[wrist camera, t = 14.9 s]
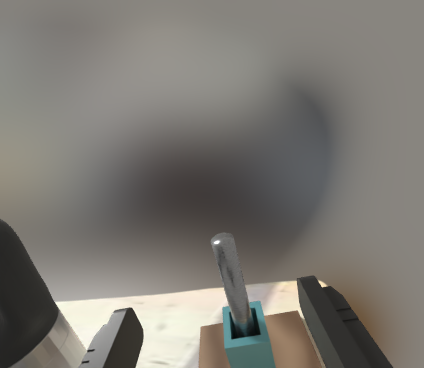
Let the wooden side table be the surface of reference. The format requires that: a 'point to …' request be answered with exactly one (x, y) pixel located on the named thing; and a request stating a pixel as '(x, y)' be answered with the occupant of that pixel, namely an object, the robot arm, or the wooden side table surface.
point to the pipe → (233, 284)
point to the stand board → (279, 338)
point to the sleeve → (248, 341)
